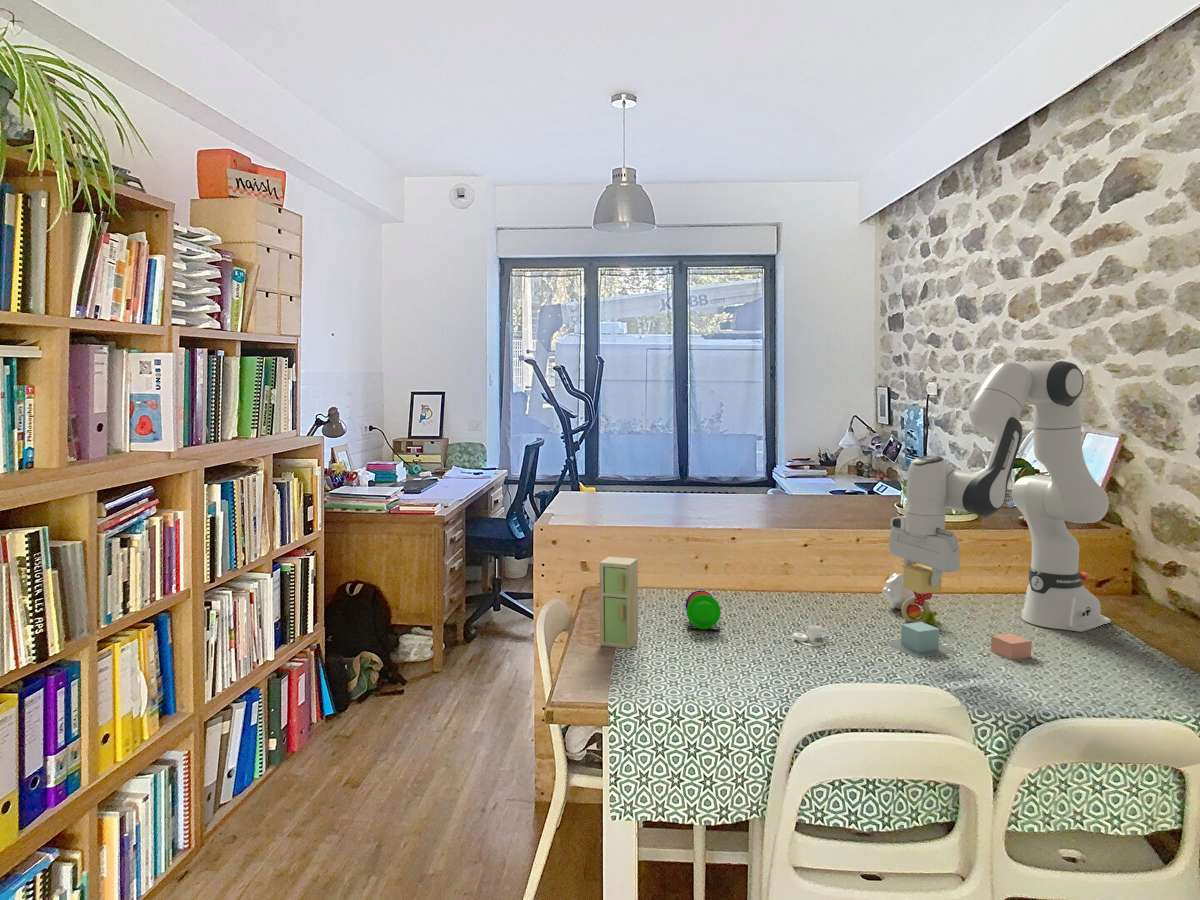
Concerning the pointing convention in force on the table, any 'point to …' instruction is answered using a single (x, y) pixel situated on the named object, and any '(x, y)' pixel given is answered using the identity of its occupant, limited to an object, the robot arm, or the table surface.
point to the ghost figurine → (896, 591)
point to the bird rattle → (918, 609)
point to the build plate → (915, 654)
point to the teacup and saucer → (810, 635)
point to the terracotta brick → (1011, 646)
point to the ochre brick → (919, 579)
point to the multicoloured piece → (702, 610)
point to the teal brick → (920, 637)
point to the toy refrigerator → (618, 602)
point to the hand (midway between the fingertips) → (922, 581)
